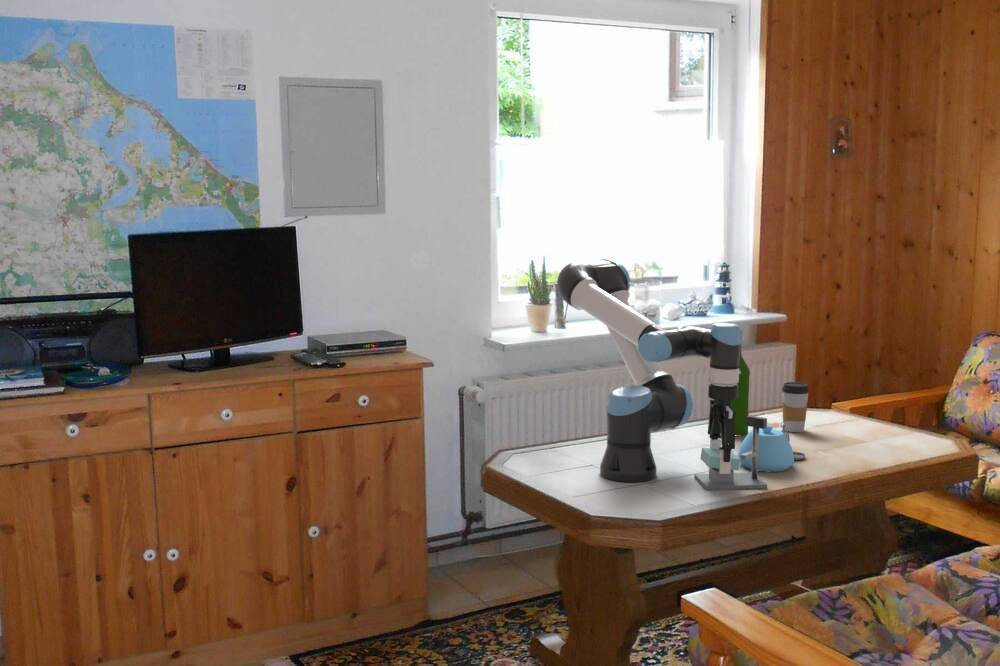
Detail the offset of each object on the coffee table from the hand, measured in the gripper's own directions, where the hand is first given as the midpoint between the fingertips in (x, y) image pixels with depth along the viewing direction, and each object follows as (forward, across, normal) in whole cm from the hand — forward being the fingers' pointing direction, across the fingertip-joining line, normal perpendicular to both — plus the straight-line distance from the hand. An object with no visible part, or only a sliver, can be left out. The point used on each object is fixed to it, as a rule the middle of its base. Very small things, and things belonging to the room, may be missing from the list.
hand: (719, 468), depth 257 cm
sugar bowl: (+4, +15, -18) cm, 23 cm away
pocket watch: (+4, +22, -28) cm, 36 cm away
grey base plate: (+4, 0, -3) cm, 5 cm away
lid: (-1, 0, 0) cm, 1 cm away
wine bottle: (+5, +52, -21) cm, 56 cm away
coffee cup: (+4, +53, -41) cm, 67 cm away
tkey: (+3, -2, -7) cm, 8 cm away
